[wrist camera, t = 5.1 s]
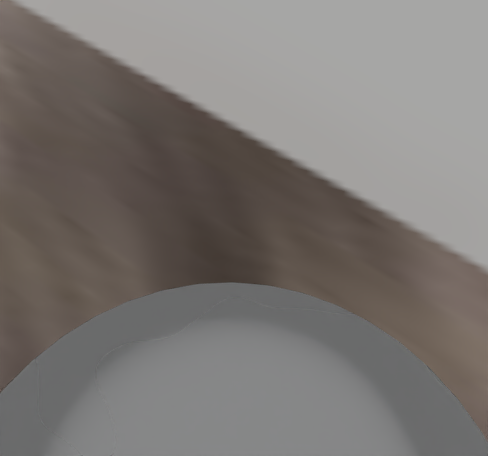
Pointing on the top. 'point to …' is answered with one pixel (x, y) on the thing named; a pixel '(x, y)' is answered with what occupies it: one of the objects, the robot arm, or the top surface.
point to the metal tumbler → (231, 384)
